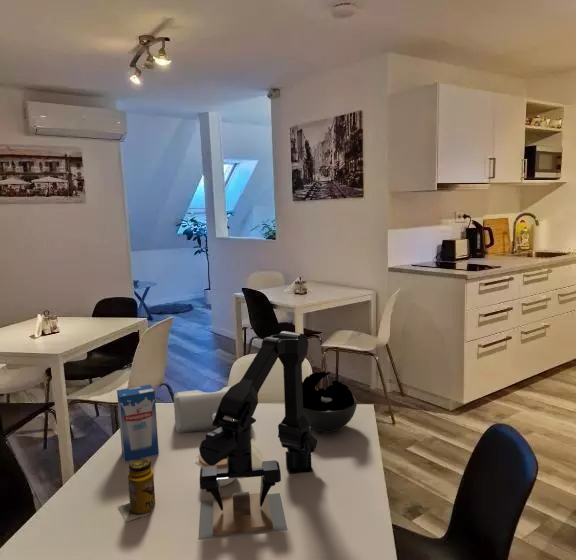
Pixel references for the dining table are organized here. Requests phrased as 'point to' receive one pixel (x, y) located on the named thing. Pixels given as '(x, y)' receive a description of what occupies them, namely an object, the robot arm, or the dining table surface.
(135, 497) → the condiment
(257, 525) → the lid
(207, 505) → the mat
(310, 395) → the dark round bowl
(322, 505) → the dining table surface
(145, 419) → the milk carton
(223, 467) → the lidded jar
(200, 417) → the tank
